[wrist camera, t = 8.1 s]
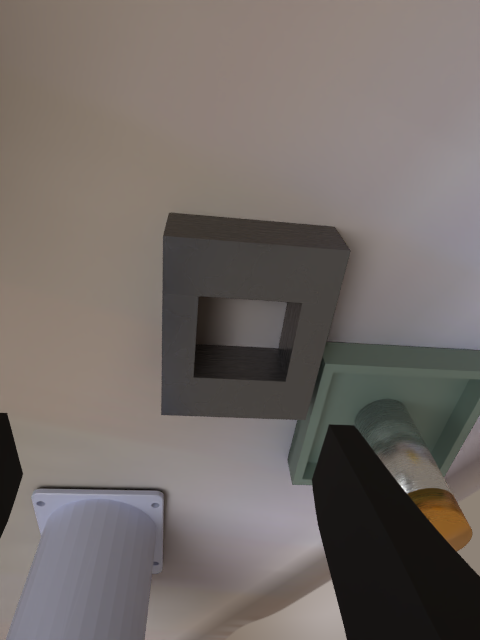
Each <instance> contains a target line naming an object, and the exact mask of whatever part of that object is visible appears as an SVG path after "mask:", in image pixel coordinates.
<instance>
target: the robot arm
mask: <svg viewBox="0 0 480 640" xmlns="http://www.w3.org/2000/svg"><path fill="white" fill-rule="evenodd" d="M22 475H23V472H22V469H21V465H20V461H19V457H18V453H17V449H16V446H15V442H14V438H13V434H12V430H11V426H10V423H9V419H8V415H7V413H0V538H1V535H2V533H3V531H4V529H5V526H6V524H7V522H8V519H9V516H10V513H11V510H12V507H13V504H14V501H15V498H16V495H17V492H18V488H19V485H20V482H21V479H22ZM312 486H313V493H314V501H315V508H316V515H317V521H318V526H319V530H320V535H321V539H322V542H323V546H324V550H325V554H326V558H327V562H328V566H329V570H330V574H331V578H332V582H333V585H334V589H335V593H336V597H337V601H338V605H339V609H340V613H341V616H342V620H343V624H344V628H345V633H346V637H347V640H480V576H479V575H477V573H476V572H475V571H474V570H473V569H472V568H471V567H470V566H469V565H468V564H467V563H466V562H465V561H464V559H463V558H462V557H461V556H460V555H459V554H458V553H457V552H456V551H455V549H454V548H453V547H452V546H451V545H450V544H449V543H448V542H447V540H446V539H445V538H444V537H443V536H442V535H441V534H440V533H439V531H438V530H437V529H436V528H435V527H434V526H433V524H432V523H431V522H430V521H429V520H428V519H427V517H426V516H425V515H424V514H423V513H422V511H421V510H420V509H419V508H418V506H417V505H416V504H415V503H414V502H413V500H412V499H411V498H410V497H409V495H408V494H407V493H406V492H405V491H404V489H403V488H402V487H401V485H400V484H399V483H398V482H397V480H396V479H395V478H394V477H393V475H392V474H391V473H390V471H389V470H388V469H387V467H386V466H385V465H384V464H383V462H382V461H381V460H380V458H379V457H378V456H377V454H376V453H375V452H374V450H373V449H372V448H371V446H370V445H369V444H368V442H367V441H366V440H365V438H364V437H363V436H362V434H361V433H360V432H359V431H358V429H357V428H356V427H355V426H354V425H334V424H329V426H328V429H327V433H326V436H325V439H324V442H323V445H322V449H321V452H320V455H319V458H318V462H317V465H316V468H315V471H314V474H313V478H312ZM31 498H32V502H33V506H34V510H35V514H36V518H37V522H38V526H39V530H40V534H41V539H40V542H39V545H38V548H37V551H36V554H35V556H34V559H33V562H32V565H31V568H30V571H29V574H28V577H27V580H26V582H25V585H24V588H23V591H22V594H21V597H20V600H19V603H18V606H17V608H16V611H15V614H14V617H13V620H12V623H11V626H10V629H9V632H8V634H7V637H6V640H145V631H146V623H147V614H148V605H149V596H150V587H151V578H152V574H158V573H160V572H162V568H163V516H164V495H163V493H162V492H160V491H150V490H93V489H36V490H34V492H33V494H32V497H31Z"/></svg>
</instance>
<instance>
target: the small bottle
mask: <svg viewBox="0 0 480 640" xmlns="http://www.w3.org/2000/svg"><path fill="white" fill-rule="evenodd" d="M354 424H355V427H356V428H357V429H358V431H359V432H360V433H361V434H362V436H363V437H364V438H365V440H366V441H367V442H368V444H369V445H370V446H371V448H372V449H373V450H374V452H375V453H376V454H377V456H378V457H379V458H380V460H381V461H382V462H383V464H384V465H385V466H386V467H387V469H388V470H389V471H390V473H391V474H392V475H393V477H394V478H395V479H396V480H397V482H398V483H399V484H400V485H401V487H402V488H403V489H404V491H405V492H406V493H407V494H408V495H409V497H410V498H411V499H412V500H413V502H414V503H415V504H416V505H417V506H418V508H419V509H420V510H421V511H422V513H423V514H424V515H425V516H426V517H427V519H428V520H429V521H430V522H431V523H432V524H433V526H434V527H435V528H436V529H437V530H438V531H439V533H440V534H441V535H442V536H443V537H444V538H445V539H446V540H447V542H448V543H449V544H450V545H451V546H452V547H453V548H454V549H455V551H456V552H457V551H458V550H460V549H462V548H463V547H464V546H465V545H466V544H467V543H468V542H469V541H470V539H471V537H472V529H471V528H470V526H469V524H468V522H467V520H466V518H465V516H464V514H463V513H462V511H461V509H460V507H459V505H458V503H457V501H456V499H455V498H454V496H453V494H452V492H451V490H450V488H449V486H448V484H447V483H446V481H445V479H444V477H443V475H442V473H441V471H440V470H439V468H438V466H437V464H436V462H435V460H434V458H433V456H432V455H431V453H430V451H429V449H428V447H427V445H426V443H425V442H424V440H423V438H422V436H421V434H420V432H419V430H418V428H417V427H416V425H415V423H414V421H413V419H412V417H411V415H410V413H409V412H408V410H407V408H406V406H405V405H404V404H403V403H401V402H400V401H397V400H393V399H381V400H377V401H374V402H371V403H369V404H367V405H366V406H364V407H363V408H362V409H361V410H360V411H359V412H358V413H357V415H356V417H355V422H354Z"/></svg>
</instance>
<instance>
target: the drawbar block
mask: <svg viewBox="0 0 480 640" xmlns="http://www.w3.org/2000/svg"><path fill="white" fill-rule="evenodd" d="M349 255H350V249H349V248H348V246H347V245H346V243H345V242H344V240H343V239H342V237H341V236H340V234H339V233H338V231H337V230H336V228H335V227H330V226H318V225H306V224H295V223H283V222H271V221H259V220H247V219H236V218H224V217H212V216H200V215H189V214H177V213H169V215H168V219H167V223H166V227H165V231H164V235H163V304H162V404H161V415H179V416H207V417H234V418H262V419H290V420H306V416H307V413H308V409H309V405H310V401H311V398H312V394H313V390H314V386H315V383H316V379H317V375H318V371H319V368H320V364H321V360H322V356H323V353H324V349H325V345H326V341H327V338H328V334H329V330H330V326H331V323H332V319H333V315H334V311H335V308H336V304H337V300H338V296H339V293H340V289H341V285H342V281H343V277H344V274H345V270H346V266H347V262H348V259H349ZM198 296H204V297H219V298H235V299H250V300H265V301H281V302H287V307H286V312H285V318H284V323H283V328H282V333H281V338H280V343H279V349H271V348H252V347H233V346H215V345H196V329H197V312H198Z"/></svg>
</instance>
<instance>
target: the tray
mask: <svg viewBox="0 0 480 640" xmlns="http://www.w3.org/2000/svg"><path fill="white" fill-rule="evenodd" d="M381 399H393V400H397V401H400V402H401V403H403V404H404V405H405V406H406V408H407V410H408V412H409V413H410V415H411V417H412V419H413V421H414V423H415V425H416V427H417V428H418V430H419V432H420V434H421V436H422V438H423V440H424V442H425V443H426V445H427V447H428V449H429V451H430V453H431V455H432V456H433V458H434V460H435V462H436V464H437V466H438V468H439V470H440V471H441V473H442V475H443V477H444V476H445V475H446V473H447V471H448V469H449V468H450V466H451V464H452V462H453V461H454V459H455V457H456V455H457V454H458V452H459V450H460V448H461V447H462V445H463V443H464V441H465V440H466V438H467V436H468V434H469V432H470V431H471V429H472V427H473V425H474V424H475V422H476V420H477V418H478V417H479V415H480V350H464V349H446V348H428V347H410V346H392V345H374V344H356V343H338V342H326V345H325V349H324V353H323V356H322V360H321V364H320V368H319V371H318V375H317V379H316V383H315V386H314V390H313V394H312V398H311V401H310V405H309V409H308V413H307V416H306V420H297V424H296V428H295V432H294V436H293V440H292V444H291V448H290V452H289V456H288V464H289V470H290V475H291V481H292V485H312V478H313V474H314V471H315V468H316V465H317V462H318V458H319V455H320V452H321V449H322V445H323V442H324V439H325V436H326V433H327V429H328V426H329V424H334V425H354V426H355V424H354V422H355V417H356V415H357V413H358V412H359V411H360V410H361V409H362V408H363V407H364V406H366V405H367V404H369V403H371V402H374V401H377V400H381Z"/></svg>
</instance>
